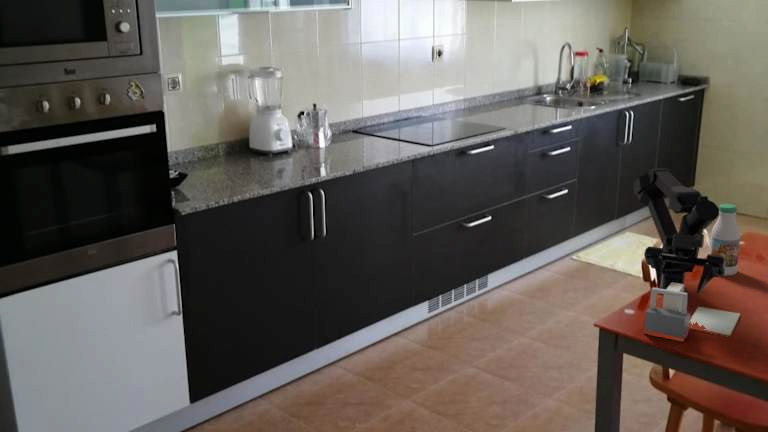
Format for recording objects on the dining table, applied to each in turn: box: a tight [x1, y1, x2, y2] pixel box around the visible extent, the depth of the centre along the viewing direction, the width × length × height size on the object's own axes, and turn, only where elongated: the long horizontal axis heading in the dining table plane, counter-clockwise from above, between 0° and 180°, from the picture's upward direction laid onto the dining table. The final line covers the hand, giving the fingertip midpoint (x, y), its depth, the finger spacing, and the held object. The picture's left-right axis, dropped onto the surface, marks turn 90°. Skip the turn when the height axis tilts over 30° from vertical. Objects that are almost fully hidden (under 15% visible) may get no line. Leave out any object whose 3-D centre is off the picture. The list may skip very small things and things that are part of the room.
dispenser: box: [644, 287, 691, 339], centre depth 189 cm, size 6×9×11 cm, turn 58°
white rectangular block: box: [662, 282, 685, 312], centre depth 194 cm, size 8×3×10 cm, turn 148°
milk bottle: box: [708, 203, 741, 277], centre depth 227 cm, size 8×8×20 cm
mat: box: [690, 306, 741, 336], centre depth 196 cm, size 14×10×1 cm
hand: (677, 290), depth 195 cm, fingers open, 9 cm apart
